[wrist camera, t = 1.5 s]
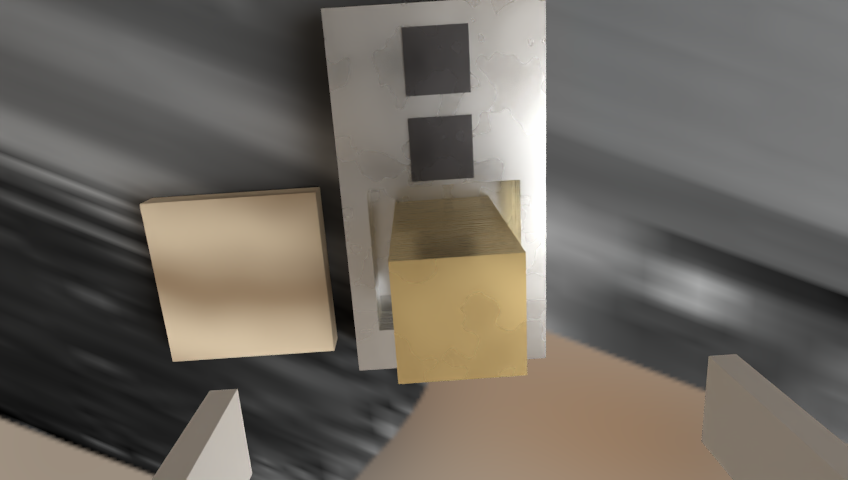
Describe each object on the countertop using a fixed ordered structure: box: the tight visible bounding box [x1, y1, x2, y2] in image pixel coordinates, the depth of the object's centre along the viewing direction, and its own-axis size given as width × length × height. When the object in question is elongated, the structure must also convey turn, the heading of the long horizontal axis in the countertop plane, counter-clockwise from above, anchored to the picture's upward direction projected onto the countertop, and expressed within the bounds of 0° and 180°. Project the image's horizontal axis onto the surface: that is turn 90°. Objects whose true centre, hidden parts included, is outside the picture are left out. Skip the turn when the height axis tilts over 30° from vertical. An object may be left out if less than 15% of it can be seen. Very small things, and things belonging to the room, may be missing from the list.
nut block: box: [388, 196, 527, 384], centre depth 25 cm, size 5×5×10 cm
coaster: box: [139, 187, 338, 362], centre depth 30 cm, size 9×9×2 cm
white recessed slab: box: [321, 0, 546, 370], centre depth 28 cm, size 18×10×3 cm, turn 3°
